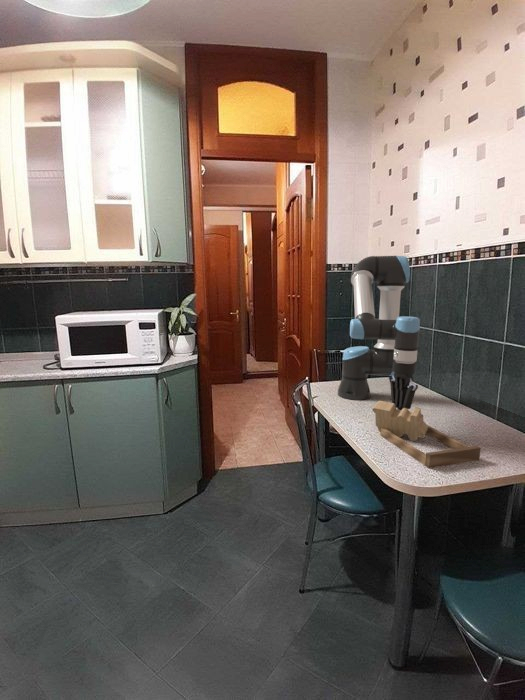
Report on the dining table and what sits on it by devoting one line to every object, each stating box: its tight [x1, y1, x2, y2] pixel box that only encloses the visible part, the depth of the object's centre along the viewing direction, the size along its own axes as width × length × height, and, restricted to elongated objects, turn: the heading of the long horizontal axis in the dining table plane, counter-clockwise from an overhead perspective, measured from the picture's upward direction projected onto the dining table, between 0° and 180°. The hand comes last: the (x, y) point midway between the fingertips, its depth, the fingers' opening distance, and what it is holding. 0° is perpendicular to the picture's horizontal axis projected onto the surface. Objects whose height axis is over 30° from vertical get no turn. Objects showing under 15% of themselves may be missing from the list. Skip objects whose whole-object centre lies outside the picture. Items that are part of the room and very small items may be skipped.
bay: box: [379, 424, 482, 469], centre depth 112 cm, size 24×18×4 cm
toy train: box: [371, 400, 429, 442], centre depth 120 cm, size 6×17×10 cm, turn 54°
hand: (399, 425), depth 126 cm, fingers closed
